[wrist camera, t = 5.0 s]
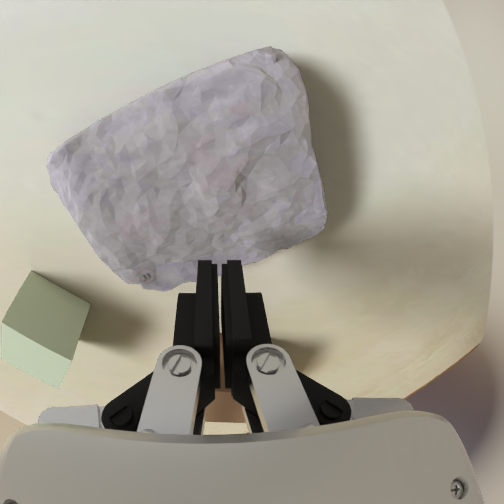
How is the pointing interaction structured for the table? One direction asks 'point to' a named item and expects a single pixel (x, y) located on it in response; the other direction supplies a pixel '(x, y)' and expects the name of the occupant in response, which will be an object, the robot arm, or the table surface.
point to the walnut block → (224, 401)
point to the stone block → (197, 173)
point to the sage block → (42, 329)
